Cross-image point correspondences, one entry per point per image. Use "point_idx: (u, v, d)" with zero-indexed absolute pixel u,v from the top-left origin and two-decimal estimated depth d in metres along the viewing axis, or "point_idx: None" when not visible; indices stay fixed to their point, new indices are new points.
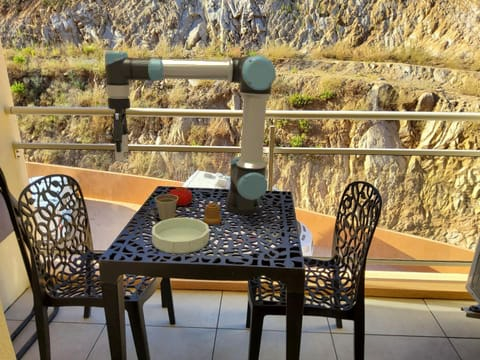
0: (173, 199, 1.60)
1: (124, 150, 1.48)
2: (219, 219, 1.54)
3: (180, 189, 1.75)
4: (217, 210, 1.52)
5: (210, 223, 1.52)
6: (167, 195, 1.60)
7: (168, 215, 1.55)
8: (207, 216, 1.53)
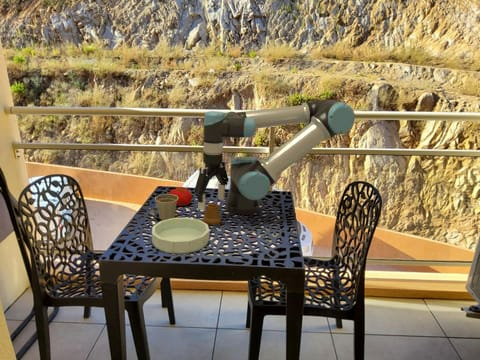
0: (173, 199, 1.60)
1: (220, 198, 1.59)
2: (219, 219, 1.54)
3: (180, 189, 1.75)
4: (217, 210, 1.52)
5: (210, 223, 1.52)
6: (167, 195, 1.60)
7: (168, 215, 1.55)
8: (207, 216, 1.53)
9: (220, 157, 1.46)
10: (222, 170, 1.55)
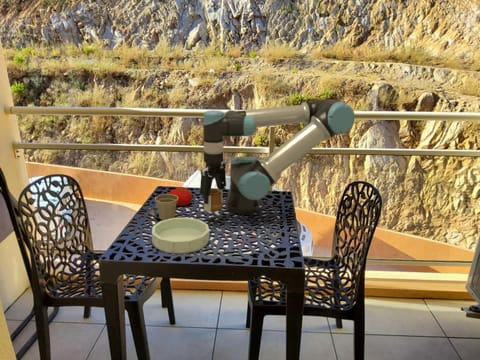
0: (173, 199, 1.60)
1: None
2: (220, 205, 1.52)
3: (180, 189, 1.75)
4: (218, 196, 1.51)
5: (211, 209, 1.50)
6: (167, 195, 1.60)
7: (168, 215, 1.55)
8: None
9: (221, 156, 1.45)
10: (222, 172, 1.54)
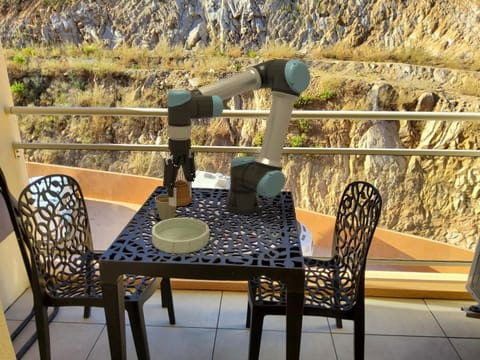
0: None
1: None
2: (188, 199, 1.33)
3: None
4: (185, 188, 1.32)
5: (177, 203, 1.31)
6: (167, 195, 1.60)
7: (168, 215, 1.55)
8: None
9: (187, 143, 1.27)
10: (190, 161, 1.35)
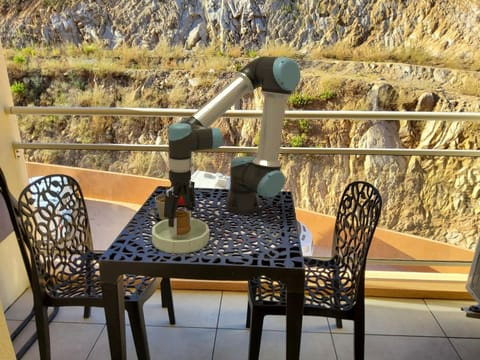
0: None
1: None
2: (188, 228, 1.36)
3: None
4: (185, 218, 1.35)
5: (177, 233, 1.35)
6: None
7: None
8: None
9: (187, 175, 1.30)
10: (190, 191, 1.39)
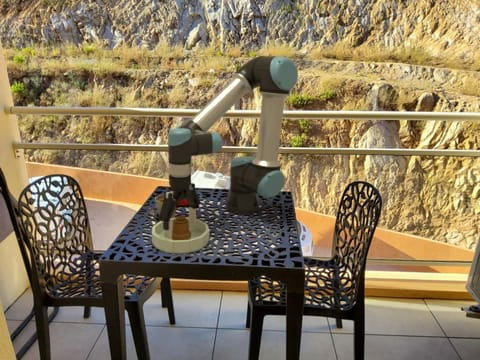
0: (173, 199, 1.60)
1: (191, 223, 1.44)
2: (188, 234, 1.37)
3: None
4: (186, 224, 1.36)
5: (178, 239, 1.36)
6: None
7: None
8: (174, 231, 1.36)
9: (187, 179, 1.30)
10: (192, 192, 1.40)
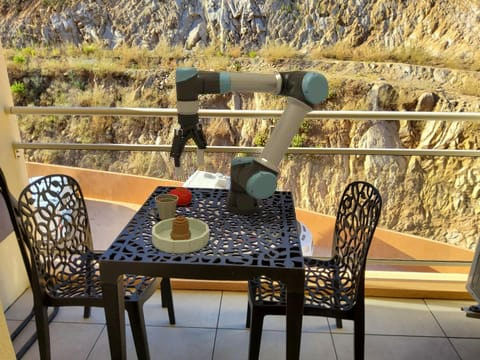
0: (173, 199, 1.60)
1: (200, 164, 1.48)
2: (188, 234, 1.37)
3: (180, 189, 1.75)
4: (185, 224, 1.36)
5: (178, 239, 1.36)
6: (167, 195, 1.60)
7: (168, 215, 1.55)
8: (174, 231, 1.36)
9: (196, 117, 1.34)
10: (199, 133, 1.43)
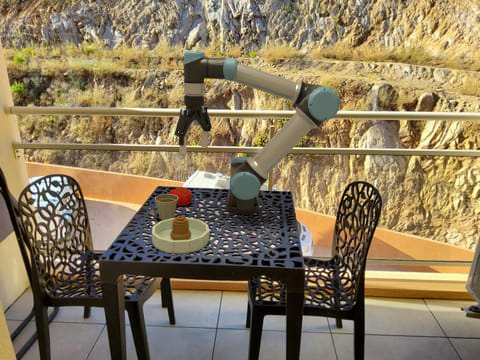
0: (173, 199, 1.60)
1: (204, 146, 1.55)
2: (188, 234, 1.37)
3: (180, 189, 1.74)
4: (185, 224, 1.36)
5: (178, 239, 1.36)
6: (167, 195, 1.60)
7: (168, 215, 1.55)
8: (174, 231, 1.36)
9: (201, 99, 1.42)
10: (205, 115, 1.51)
